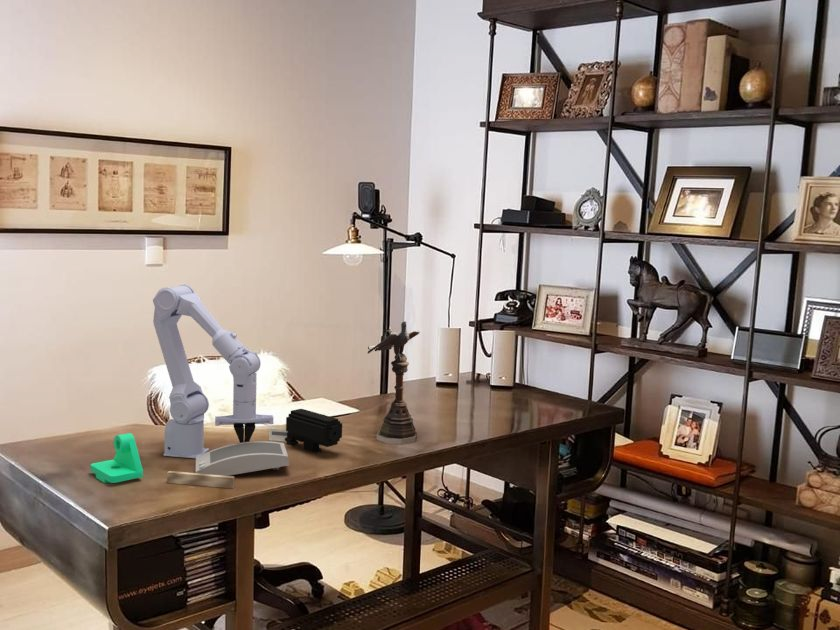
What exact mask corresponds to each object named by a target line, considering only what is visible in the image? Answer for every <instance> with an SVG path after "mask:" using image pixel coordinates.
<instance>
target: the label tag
mask: <svg viewBox="0 0 840 630" xmlns="http://www.w3.org/2000/svg"><path fill="white" fill-rule="evenodd" d="M287 432H288V431H286V428H273V427H269V428H268V441H270V442H281V443H284V442H285V443H287V441H285V438H287Z"/></svg>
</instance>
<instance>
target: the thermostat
mask: <svg viewBox="0 0 840 630" xmlns="http://www.w3.org/2000/svg"><path fill="white" fill-rule="evenodd" d="M289 459H290V458H289V455H288V451H287V450H286V446H285V443H284V442H280V441H270V440H268V441H267V440H261V441H260V440H258V441H257V440H254V441H249V442H242V443H240V442H238V443H237V442H236V443H230V444H227V445H223V446H221V447H217V448H214V449H211V450H209V451H207V452H206V453H204V454H202V455H200V456H198V457H196V458H195V473H199V474H211V475H223V476H234V475H239V474H245V473H252V472H257V471H263V470H268V469H269V470H270V469H273V470H280V468H281V467H287V466H290V460H289Z"/></svg>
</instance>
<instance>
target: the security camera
mask: <svg viewBox="0 0 840 630" xmlns="http://www.w3.org/2000/svg"><path fill="white" fill-rule="evenodd" d="M285 419H286V420H285V429H286V431H288V432H287V438H285V441H287V442H286V445H289V446H296V445H297V446H298V445H299V443H303V450H304V451H307V452H309V453H310V452H311V453H313V454H319V453H321V452H322V448H320V446H323V447H325V448H328V447H333V446H336V445H338V442H340V440H341V439H342V437H343V423H342V422H341V420H339V418H336V417H332V416H328V415H326V414H323V413H322V414H321V413H318V412H315V411H312V410H308V409H304V408H298V409H292V410H290V413H288V416H286V418H285Z"/></svg>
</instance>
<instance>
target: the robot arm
mask: <svg viewBox="0 0 840 630" xmlns="http://www.w3.org/2000/svg"><path fill="white" fill-rule="evenodd" d="M152 303H153V306H154V313H153V320H152V321H153V322H152V323H153V327H154V330H155V333H156V337H157V339H158V343H159V346H160V350H161V353H162V356H163V360H164V362H165V366H166V370H167V372H168V373H167V374H168V375H169V379H170V383H171V386H172V389H171V391H170V393H169V397H168V399H169V403H170V406H169V413H170V416H171V418H172V419H171V418H170V419H168V421H167V422H166V423H165V427H164V453H163V456H164V457H176V458H187V459H196V457H198V456H200V455H202V454H204V453H207V452H209V451H210V447H209V448H207V447H204V445H205V444H204V442H205V439H204V437H205V436H204V431H205V428H204V427H205V424H204V423H205V421H204V419H205V414H206V413H207V412H208V410H209V407H210V402H209V400H208V397H207V396H206V395H205V394H204V392H203V390H202V387H201V386H200V385H199V384H198V383H197V382H196V381H194V378H193V374H192V371H191V368H190V364H189V361H188V358H187V353H186V351H185V347H184V345H183V340H182V337H181V334H180V331H179V327H178V322H179V321H180V319H181V317H182V316H188V317H190V318H192V319H193V320H194V321H195V322H196V323H197V324H198V325H199V326H200V327H201V328H202V329H203V330H204V331H205V332H206V333H207V334H208V336H210V337H211V338H212V340H211V341H212V342H211V343H212V344H211V345H212V346H213V347H214V349H215V350H216V351H217V352H218V353H219V354H220V355H221V356H222V358H223V359H224V360H225V362H227V364H228V369H229V371H230V374H231V375H232V378H233V381H232V382H233V391H232V392H233V393H232V394H233V395H232V403H233V404H232V414H230V415H221V416H220V415H219V416H215V417H214V425H215V427H220V426H231V425H232V426H233V430H234V432H235V434H236V436H237V438H238V441H239V442H238V443H242V442H251V439H252V436H253V434H254V432H255V430H256V425H265V424H266V425H268V424H269V425H274V415H273V414H257V374H258V373H257V372H258V371H259V370H260V368H261V359H260V357H259V356H258V354H257V353H256V352H254V351H251V350H249V349H248V347H246V346H244V345H243V344H242V342H241V341H240V340H239V339H238V338H237V334H236V333H235V332H234V331H233V332H232V331H231V330H229V329H224V328H223V327H222V326H221V325H220V324H219V322H218V321H217V320H216V319H215V318H214V316H213V315H212V313H211V312H210V311H209V309H208V308H207V307H206V306H205V305H204V303H203V301H202V299H201V298H200V295H199V294H198V293H197V292H195V290H194V289H193V288H192V287H191V286H190V285H188V284H180V285H177V286H170V287H168V286H167V287H162V288H160V289H159V290H158V291H157V292H156V294H155V296H154V297H153V298H152Z"/></svg>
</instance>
